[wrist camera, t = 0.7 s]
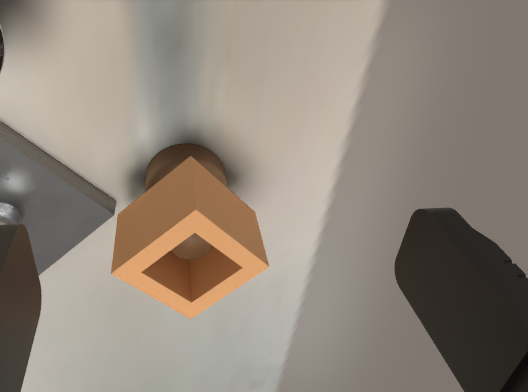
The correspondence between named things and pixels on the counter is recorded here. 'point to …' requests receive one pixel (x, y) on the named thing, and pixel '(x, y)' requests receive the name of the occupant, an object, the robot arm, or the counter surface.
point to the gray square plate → (47, 199)
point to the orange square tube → (179, 229)
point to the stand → (166, 164)
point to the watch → (2, 48)
